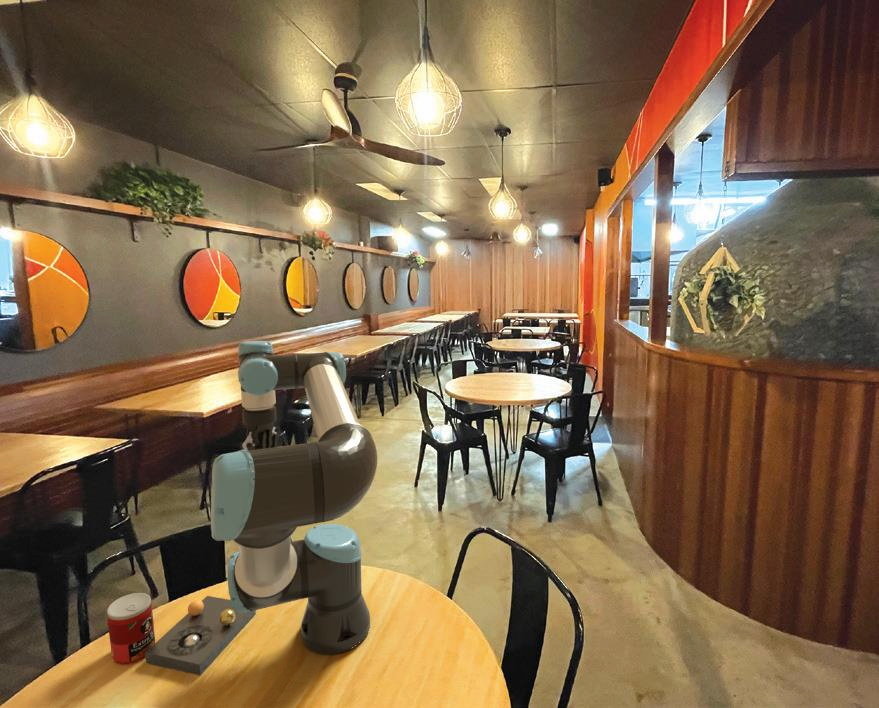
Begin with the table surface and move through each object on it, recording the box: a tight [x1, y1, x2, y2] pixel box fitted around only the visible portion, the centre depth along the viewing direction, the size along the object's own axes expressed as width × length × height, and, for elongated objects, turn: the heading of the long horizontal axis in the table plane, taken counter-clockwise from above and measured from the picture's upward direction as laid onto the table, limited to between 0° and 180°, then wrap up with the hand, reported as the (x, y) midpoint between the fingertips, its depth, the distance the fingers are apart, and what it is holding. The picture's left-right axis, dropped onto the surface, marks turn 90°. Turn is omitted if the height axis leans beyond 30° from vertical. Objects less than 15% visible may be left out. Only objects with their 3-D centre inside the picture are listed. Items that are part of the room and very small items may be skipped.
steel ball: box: [183, 634, 200, 649], centre depth 100 cm, size 3×3×3 cm
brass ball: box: [219, 609, 235, 626], centre depth 104 cm, size 3×3×3 cm
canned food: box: [106, 592, 156, 666], centre depth 99 cm, size 8×8×11 cm
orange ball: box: [187, 599, 204, 616], centre depth 107 cm, size 3×3×3 cm
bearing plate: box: [144, 595, 257, 676], centre depth 103 cm, size 13×18×2 cm
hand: (264, 500), depth 115 cm, fingers closed
